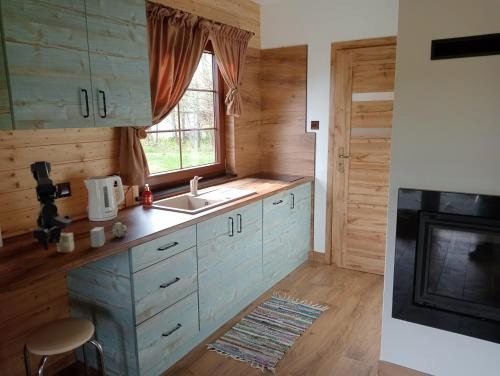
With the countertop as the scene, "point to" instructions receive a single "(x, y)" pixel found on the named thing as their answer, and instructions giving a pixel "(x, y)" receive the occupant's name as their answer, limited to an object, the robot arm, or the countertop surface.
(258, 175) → the countertop surface
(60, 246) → the birch block
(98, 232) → the grey block
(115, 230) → the grey knobbly lump
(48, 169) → the robot arm
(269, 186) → the countertop surface
